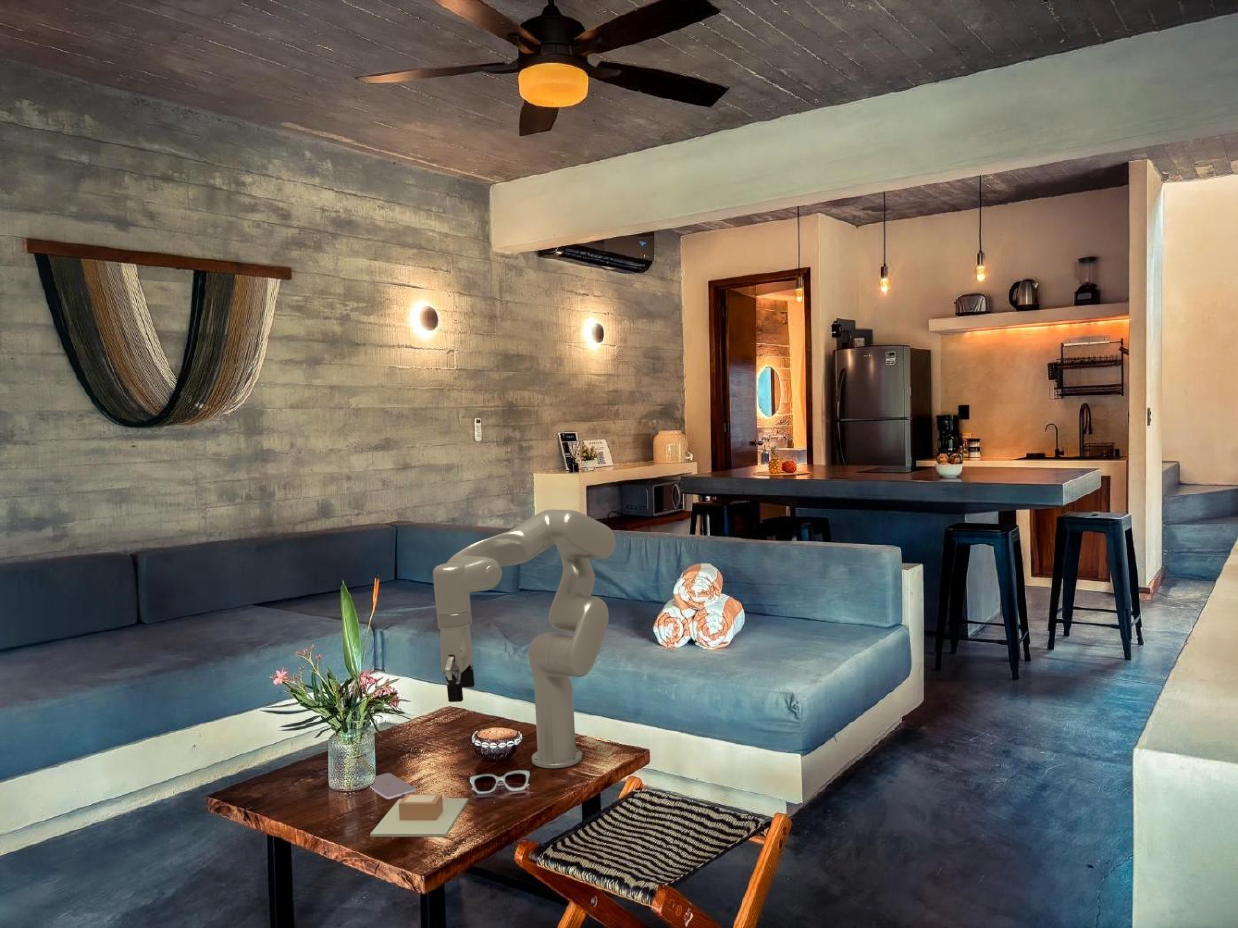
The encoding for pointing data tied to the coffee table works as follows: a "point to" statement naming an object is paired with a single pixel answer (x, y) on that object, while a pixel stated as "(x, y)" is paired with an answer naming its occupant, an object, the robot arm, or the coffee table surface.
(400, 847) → the coffee table surface
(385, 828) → the play mat
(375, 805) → the coffee table surface
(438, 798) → the block
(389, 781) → the mobile phone
